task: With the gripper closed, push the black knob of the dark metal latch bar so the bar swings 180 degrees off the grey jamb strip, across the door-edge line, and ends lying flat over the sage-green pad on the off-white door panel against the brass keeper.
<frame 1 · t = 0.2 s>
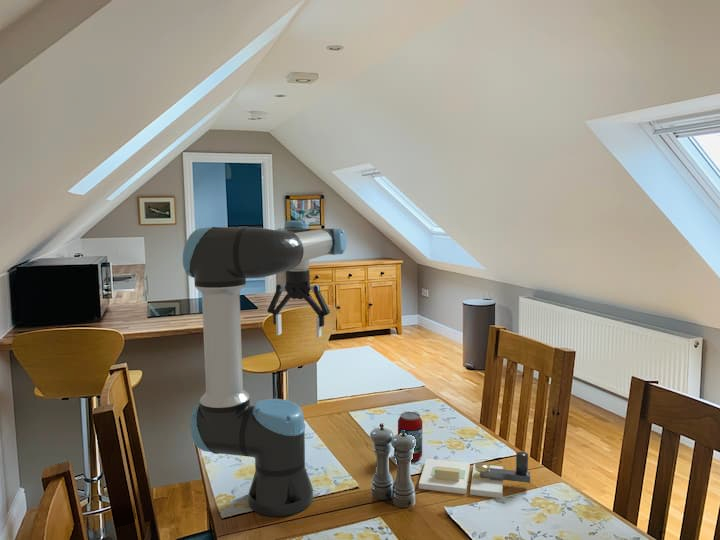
hand: (298, 335, 184), 28 cm above the table, fingers open, 13 cm apart
latch bar: (502, 464, 143), point 5 cm above the table, hinge at 0.0°
door panel: (445, 478, 147), on the table
jamb: (487, 482, 145), on the table
beverage can: (410, 457, 160), on the table
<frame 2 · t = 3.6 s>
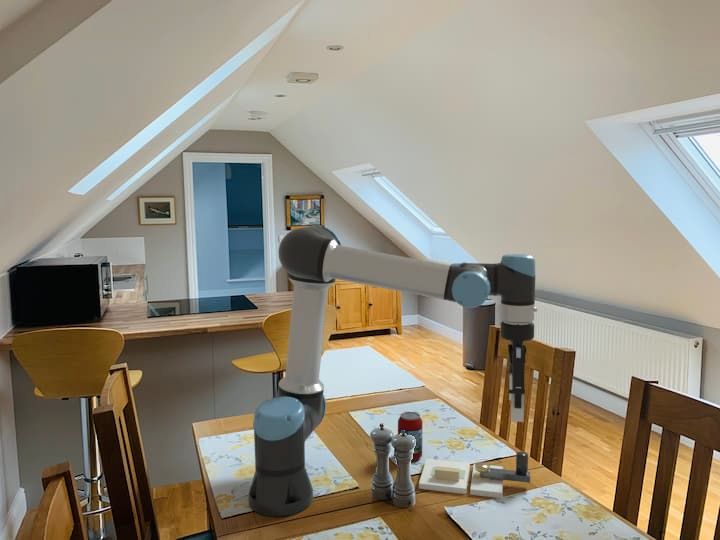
hand: (516, 410, 135), 21 cm above the table, fingers open, 13 cm apart
nothing on the table moved.
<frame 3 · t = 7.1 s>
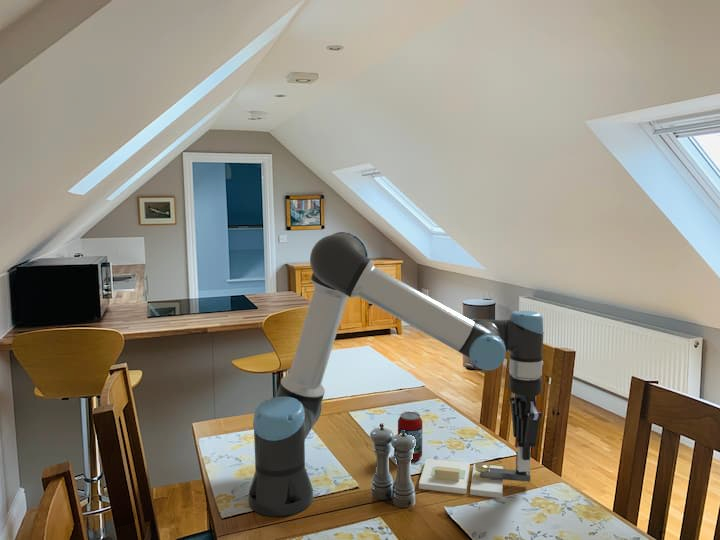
hand: (523, 470, 140), 5 cm above the table, fingers closed
latch bar: (502, 464, 143), point 5 cm above the table, hinge at 2.4°, touching gripper
everything else where it was.
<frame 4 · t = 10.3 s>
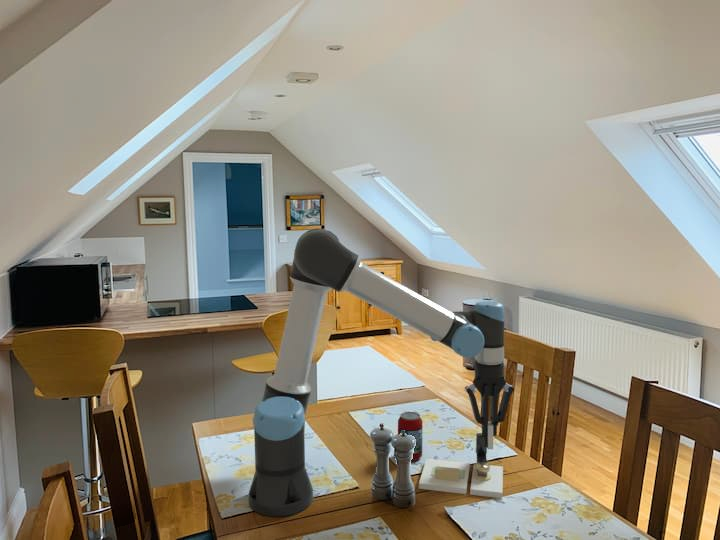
hand: (489, 447, 154), 5 cm above the table, fingers closed
latch bar: (481, 454, 149), point 5 cm above the table, hinge at 94.1°, touching gripper
everything else where it was.
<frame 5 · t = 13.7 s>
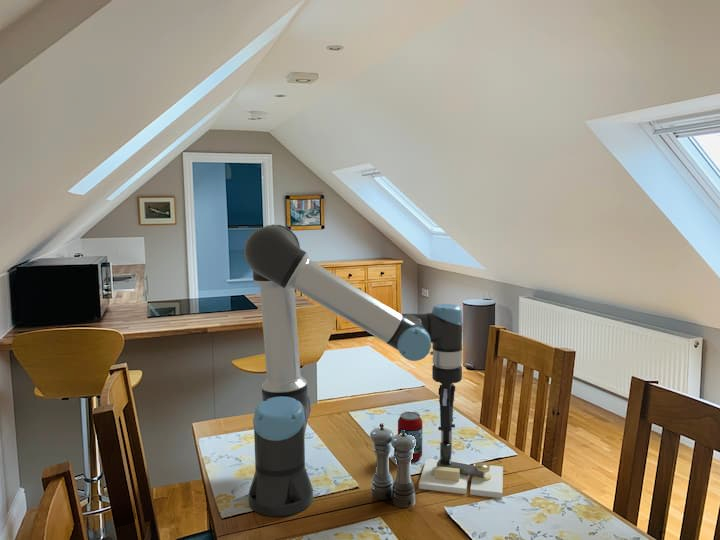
hand: (446, 452, 150), 5 cm above the table, fingers closed
latch bar: (463, 459, 146), point 5 cm above the table, hinge at 170.0°, touching gripper
everything else where it was.
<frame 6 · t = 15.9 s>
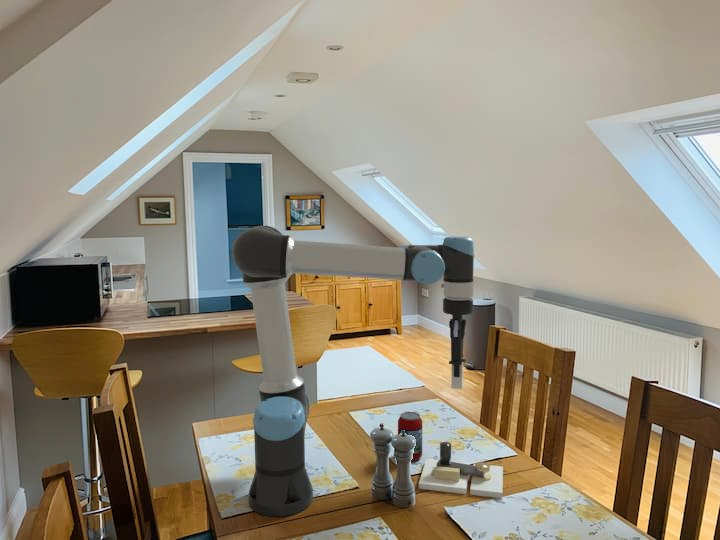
hand: (456, 387, 149), 22 cm above the table, fingers closed
latch bar: (463, 459, 146), point 5 cm above the table, hinge at 171.1°
everything else where it was.
at the end: latch bar at +171° (first picture: +0°) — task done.
